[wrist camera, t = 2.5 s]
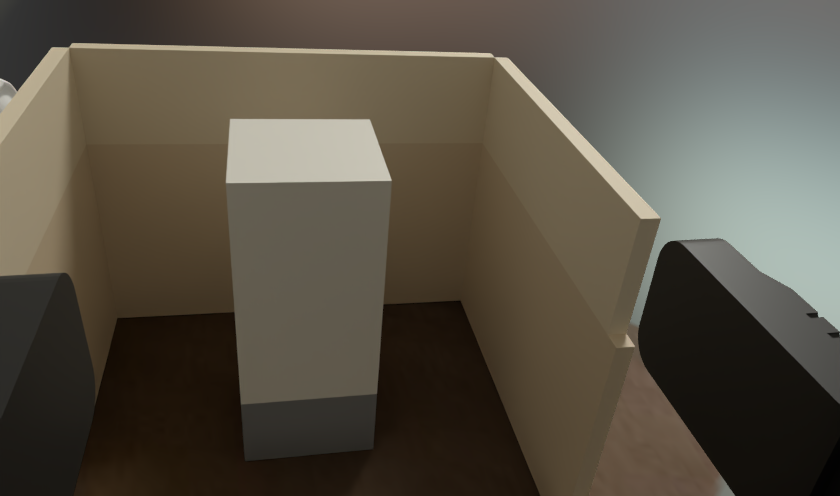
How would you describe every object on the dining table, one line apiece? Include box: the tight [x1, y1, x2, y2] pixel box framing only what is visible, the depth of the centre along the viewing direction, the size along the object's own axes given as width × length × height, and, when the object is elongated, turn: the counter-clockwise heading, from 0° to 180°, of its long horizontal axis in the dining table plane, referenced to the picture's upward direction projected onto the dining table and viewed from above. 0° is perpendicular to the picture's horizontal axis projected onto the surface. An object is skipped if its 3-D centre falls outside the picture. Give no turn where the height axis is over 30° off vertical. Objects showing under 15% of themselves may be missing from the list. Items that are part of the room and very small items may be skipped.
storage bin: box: [0, 43, 661, 496], centre depth 27 cm, size 18×15×13 cm
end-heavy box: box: [226, 119, 392, 461], centre depth 27 cm, size 5×5×12 cm
